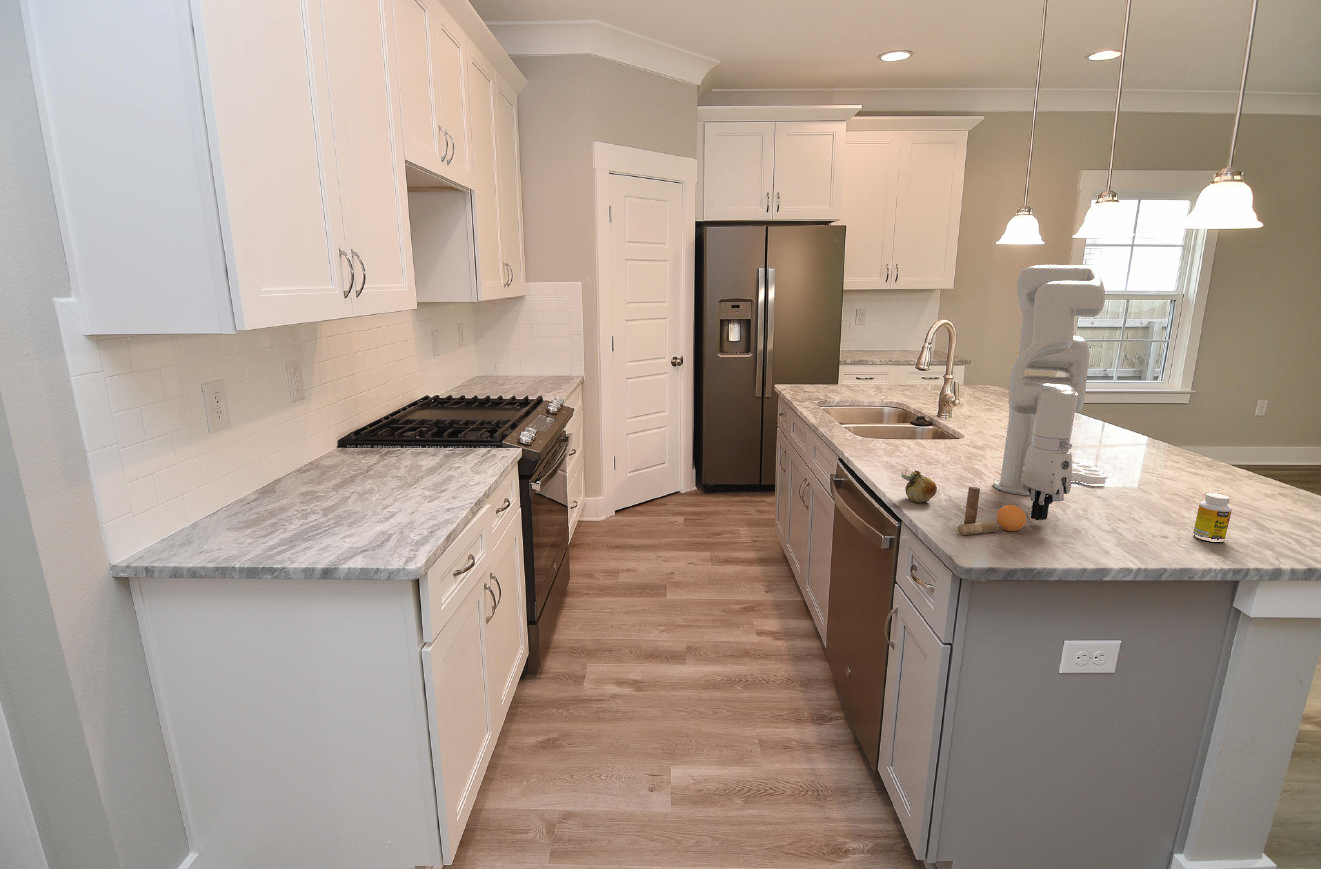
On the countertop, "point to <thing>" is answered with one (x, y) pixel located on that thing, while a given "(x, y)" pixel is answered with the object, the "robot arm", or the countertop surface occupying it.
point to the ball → (1011, 518)
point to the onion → (919, 487)
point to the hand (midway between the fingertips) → (1038, 518)
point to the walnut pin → (972, 505)
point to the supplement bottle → (1213, 517)
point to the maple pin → (977, 528)
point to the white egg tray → (1087, 473)
